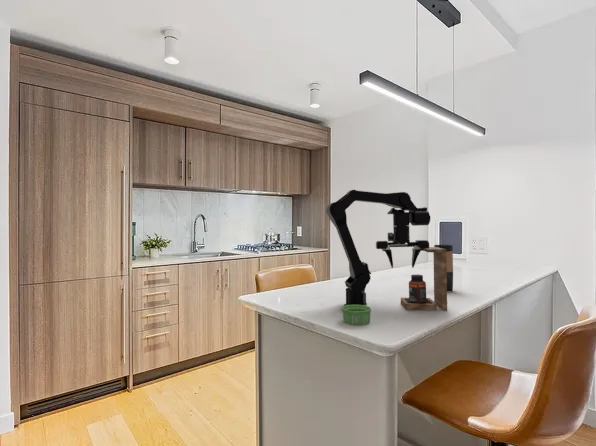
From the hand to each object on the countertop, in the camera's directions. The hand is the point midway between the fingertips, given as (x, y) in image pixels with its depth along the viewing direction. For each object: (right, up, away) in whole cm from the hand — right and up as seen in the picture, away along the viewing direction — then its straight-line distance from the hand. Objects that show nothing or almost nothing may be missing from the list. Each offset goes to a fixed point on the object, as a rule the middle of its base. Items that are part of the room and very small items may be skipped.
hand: (402, 267), depth 130 cm
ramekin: (-21, -14, -23) cm, 34 cm away
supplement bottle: (+4, -14, -5) cm, 15 cm away
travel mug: (+25, -13, +23) cm, 37 cm away
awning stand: (+6, -13, -5) cm, 15 cm away
